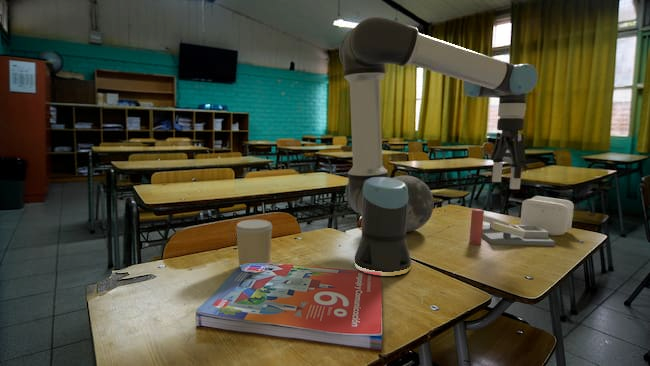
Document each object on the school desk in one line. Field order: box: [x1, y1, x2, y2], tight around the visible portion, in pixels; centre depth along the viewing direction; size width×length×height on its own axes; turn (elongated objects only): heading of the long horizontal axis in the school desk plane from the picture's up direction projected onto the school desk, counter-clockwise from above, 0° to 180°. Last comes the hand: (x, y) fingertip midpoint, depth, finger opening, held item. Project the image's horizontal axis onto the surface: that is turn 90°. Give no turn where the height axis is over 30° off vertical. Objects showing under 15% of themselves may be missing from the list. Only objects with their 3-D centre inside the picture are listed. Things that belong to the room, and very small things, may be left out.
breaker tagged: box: [490, 221, 525, 238], centre depth 125 cm, size 10×3×2 cm, turn 90°
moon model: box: [391, 174, 435, 233], centre depth 136 cm, size 20×20×20 cm
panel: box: [482, 223, 556, 247], centre depth 131 cm, size 20×18×4 cm
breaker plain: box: [483, 214, 510, 226], centre depth 136 cm, size 10×3×2 cm, turn 90°
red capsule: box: [469, 208, 485, 246], centre depth 123 cm, size 4×4×11 cm
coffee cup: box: [235, 218, 273, 266], centre depth 100 cm, size 9×9×12 cm
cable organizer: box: [519, 195, 575, 236], centre depth 139 cm, size 15×11×12 cm
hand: (505, 185), depth 122 cm, fingers open, 13 cm apart
